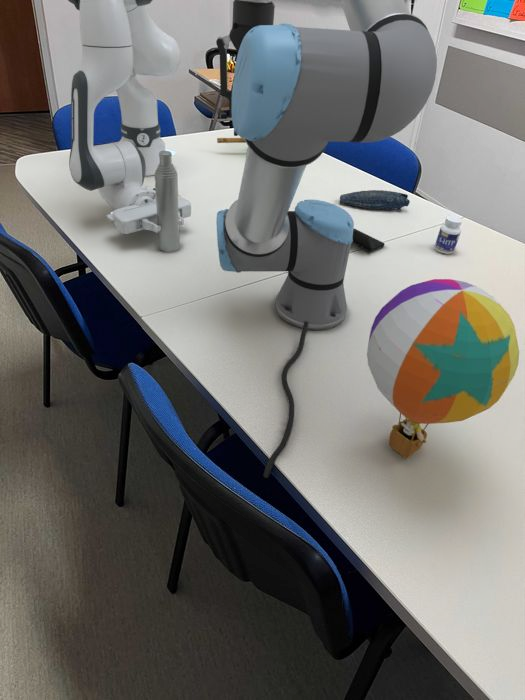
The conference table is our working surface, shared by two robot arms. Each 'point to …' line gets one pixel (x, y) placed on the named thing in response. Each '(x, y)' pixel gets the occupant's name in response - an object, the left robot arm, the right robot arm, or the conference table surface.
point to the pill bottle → (448, 235)
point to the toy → (440, 356)
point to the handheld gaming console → (366, 241)
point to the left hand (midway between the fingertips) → (170, 225)
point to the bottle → (167, 203)
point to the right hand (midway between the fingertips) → (246, 134)
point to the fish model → (376, 199)
